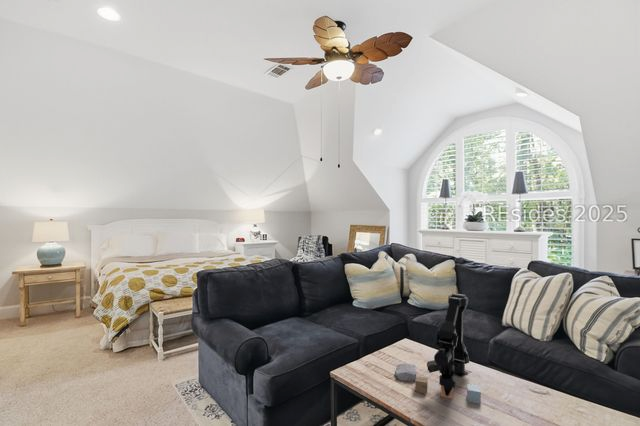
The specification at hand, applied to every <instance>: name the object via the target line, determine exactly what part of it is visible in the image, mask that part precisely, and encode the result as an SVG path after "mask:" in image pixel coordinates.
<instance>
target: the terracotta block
mask: <svg viewBox="0 0 640 426" xmlns="http://www.w3.org/2000/svg"><path fill="white" fill-rule="evenodd" d="M440 397H443V398H448V399H454V387H453V388H452V390H451V392H450V393H449V395H448V396H446V394H445V390H444V386H443V385H440Z"/></svg>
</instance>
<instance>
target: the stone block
mask: <svg viewBox="0 0 640 426" xmlns="http://www.w3.org/2000/svg"><path fill="white" fill-rule="evenodd" d="M395 375H396V377H397V379H398V380H400V381H406V382H408V381H409V382H415V380H416V375H417V368H416V365H415V364H410V363H405V362H402V363H399V364H397V365H396V368H395Z"/></svg>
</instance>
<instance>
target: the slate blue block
mask: <svg viewBox="0 0 640 426" xmlns="http://www.w3.org/2000/svg"><path fill="white" fill-rule="evenodd" d="M466 397H467V398H466V399H467V402H470V403H474V404H479V405H480V404H481V403H482V400H481V399H482V391H481V387H480V386H479V385H475V384H474V385H472V384H470V383H469V384H468V383H467V384H466Z"/></svg>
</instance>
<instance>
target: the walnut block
mask: <svg viewBox="0 0 640 426" xmlns="http://www.w3.org/2000/svg"><path fill="white" fill-rule="evenodd" d="M414 383H415V393H416V392H418V393H422V394H428V385H429V384H428V377H427V376H424V375H423V376H422V375H418V374H416V380H415V381H414Z"/></svg>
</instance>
